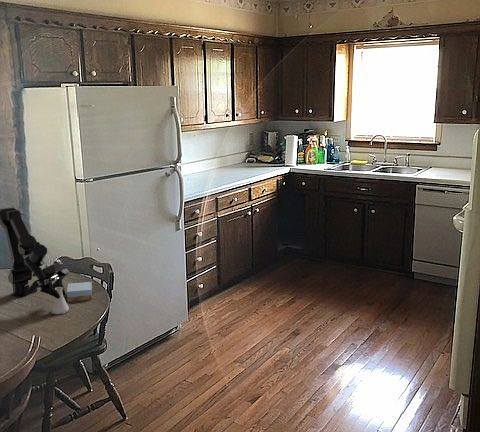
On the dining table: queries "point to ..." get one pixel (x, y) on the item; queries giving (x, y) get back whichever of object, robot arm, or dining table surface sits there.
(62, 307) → the flask
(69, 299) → the walnut block
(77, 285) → the pale blue square slab
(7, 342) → the dining table surface
